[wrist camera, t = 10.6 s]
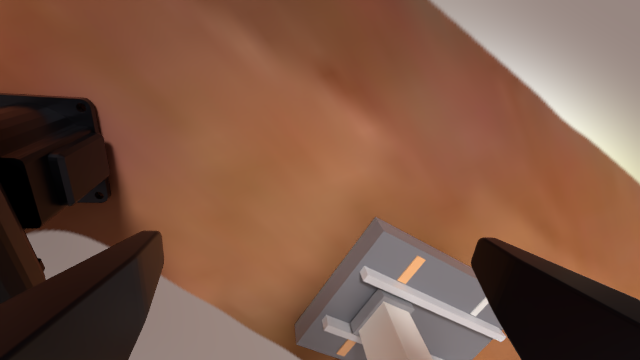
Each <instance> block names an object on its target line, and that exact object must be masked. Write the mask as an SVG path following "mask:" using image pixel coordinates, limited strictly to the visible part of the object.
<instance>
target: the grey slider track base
mask: <svg viewBox="0 0 640 360" xmlns="http://www.w3.org/2000/svg"><path fill="white" fill-rule="evenodd" d="M378 288H380V289H383V290H385V291H387V292H389V293H392V294H394V295H396V296H398V297H401V298H403V299H405V300H407V301H410V302H411V304H412V305H413V307H414V309H415V310H414V311H413V312H412V313H411V314H410V315H411V317H412V319H413V321H414V323H415V325H416V327H417V329H418V331H419V333H420V335H421V337H422V339H423V341H424V343H425V345H426V347H427V349H428V351H429V353H430V355H431V357H432V359H433V360H472V359H473V358H474V357H475V356H476V355H477V354H478V353H479V352H480V351H481V350H482V349H483V348H484V347H485V346H486V345H487V344H488V343H489V342H490V341H491V340H492V339H496V340H498V341H500V342H502V341H503V340H504V339H505V338H506V336H505V335H504V334H503V333H502V330H503V328H502V327H501V325H500V323H499V322H498V320H497V318H496V316H495V314H494V313H493V311H492V309H491V307H490V305H489V303H488V301H487V298H486V296H485V294H484V292H483V290H482V288H481V286H480V284H479V282H478V280H477V278H476V276H475V273H474V271H473V269H472V268H471V267H469V266H467V265H465V264H464V263H462V262H460V261H458V260H456V259H454V258H452V257H450V256H448V255H447V254H445V253H443V252H441V251H439V250H437V249H435V248H433V247H431V246H430V245H428V244H426V243H424V242H422V241H420V240H418V239H416V238H414V237H413V236H411V235H409V234H407V233H405V232H403V231H401V230H399V229H398V228H396V227H394V226H392V225H390V224H388V223H386V222H384V221H382V220H381V219H379V218H377V217H375V218H374V220H373V221H372V222H371V224H370V225H369V226H368V228H367V229H366V230H365V232H364V233H363V234H362V236H361V237H360V238H359V240H358V241H357V242H356V244H355V245H354V246H353V247H352V249H351V250H350V251H349V253H348V254H347V255H346V257H345V258H344V259H343V261H342V262H341V263H340V265H339V266H338V267H337V269H336V270H335V271H334V273H333V274H332V275H331V277H330V278H329V279H328V281H327V282H326V283H325V285H324V286H323V287H322V289H321V290H320V291H319V293H318V294H317V295H316V297H315V298H314V299H313V301H312V302H311V303H310V305H309V306H308V307H307V309H306V310H305V311H304V313H303V314H302V315H301V317H300V318H299V319H298V321H297V322H296V323H295V336H296V345H299V346H302V347H305V348H308V349H311V350H314V351H317V352H320V353H323V354H326V355H329V356H332V357H335V358H338V359H341V360H367V358H366V354H365V351H364V347H363V344H362V341H361V337H360V336H358V335H355V334H353V332H352V328H351V324H350V323H351V321H352V320H353V319H354V318H355V316H356V315H357V314H358V313H359V312H360V310H361V309H362V308H363V307H364V305H365V304H366V303H367V302H368V301H369V299H370V298H371V297H372V296H373V294H374V293H375V292H376V291H377V290H378Z"/></svg>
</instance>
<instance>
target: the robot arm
mask: <svg viewBox="0 0 640 360" xmlns="http://www.w3.org/2000/svg"><path fill="white" fill-rule="evenodd" d="M80 104H84V105H85V107H86V111H84V110H82V109H81V107H80ZM109 175H110V170H109V165H108V159H107V154H106V149H105V143H104V138H103V136H102V135H101V134H100V133H99V128H98V123H97V118H96V113H95V107H94V105H93V103H92V102H91V101H90V100H88V99H87V98H79V97H61V96H43V95H25V94H6V93H0V360H128V359H129V357H130V354H131V352H132V350H133V348H134V345H135V343H136V341H137V339H138V336H139V335H140V332H141V330H142V328H143V325H144V323H145V321H146V318H147V315H148V312H149V309H150V306H151V303H152V299H153V296H154V293H155V290H156V287H157V284H158V281H159V278H160V275H161V271H162V268H163V264H164V253H163V244H162V236H161V233H160V232H159V231H141V232H139V233H137V234H135V235H133V236H131V237H129V238H128V239H126V240H124V241H122V242H120V243H118V244H116V245H114V246H112V247H110V248H108V249H106V250H104V251H102V252H100V253H98V254H96V255H94V256H92V257H90V258H89V259H87V260H85V261H83V262H81V263H79V264H77V265H75V266H73V267H71V268H69V269H67V270H65V271H64V272H61V273H59V274H57V275H55V276H54V277H51V278H49V279H48V280H46V279H45V275H44V272H43V271H44V269H45V267H44V265H43V263H42V261H41V259H39V258H37V256H36V254H35V252H34V250H33V248H32V246H31V244H30V242H29V240H28V238H27V236H26V233H25V231H24V230H25V229H26V228H40V227H41V226H42V225H43V224H45V223H46V222H47V221H48V220H50V219H51V218H52V217H53V216H55V215H56V214H57V213H58V212H60V211H61V210H62V209H64V208H65V207H66V206H72V205H74V204H75V203H76V202H86V203H102V202H105V201H106V200H108V199H109V197H110V196H111V191H110V186H109V181H108V176H109ZM98 192H101V193H102V194H103V195H104V196H100V195H99V194H98ZM471 266H472V269H473V271H474V273H475V276H476V278H477V280H478V282H479V284H480V286H481V288H482V290H483V292H484V294H485V296H486V298H487V301H488V303H489V305H490V307H491V309H492V311H493V313H494V314H495V316H496V318H497V320H498V322H499V323H500V325H501V327H502V328H503V330H504V332H505V333H506V335H507V337H508V338H509V340H510V342H511V343H512V345H513V347H514V348H515V350H516V352H517V353H518V355H519V356H520V358H521V360H640V301H639V300H638V299H636V298H634V297H631V296H629V295H627V294H624V293H622V292H620V291H617V290H615V289H613V288H610V287H608V286H606V285H603V284H601V283H599V282H596V281H594V280H592V279H589V278H587V277H585V276H582V275H580V274H578V273H575V272H573V271H571V270H568V269H566V268H564V267H561V266H559V265H557V264H554V263H552V262H550V261H547V260H545V259H543V258H541V257H538V256H536V255H534V254H531V253H529V252H527V251H524V250H522V249H520V248H517V247H515V246H513V245H510V244H508V243H506V242H503V241H501V240H499V239H496V238H480V239H479V240H478V242H477V245H476V248H475V251H474V254H473V257H472V260H471Z"/></svg>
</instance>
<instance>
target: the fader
mask: <svg viewBox="0 0 640 360" xmlns="http://www.w3.org/2000/svg"><path fill="white" fill-rule="evenodd" d="M414 310H415V309H414V307H413V305H412V304H411V302H410V301H407V300H405V299H403V298H401V297H398V296H396V295H394V294H392V293H389V292H387V291H385V290H383V289H380V288H378V290H377V291H376V292H375V293H374V294H373V296H372V297H371V298H370V299H369V301H368V302H367V303H366V304H365V305H364V307H363V308H362V309H361V310H360V312H359V313H358V314H357V315H356V316H355V318H354V319H353V320H352V321H351V323H350V324H351V328H352V332H353V334H355V335H358V336H360V337H361V341H362V344H363V347H364V351H365V354H366V358H367V360H433V359H432V357H431V355H430V353H429V351H428V349H427V347H426V345H425V343H424V341H423V339H422V337H421V335H420V333H419V331H418V329H417V327H416V325H415V323H414V321H413V319H412V317H411V315H410V314H411V313H412V312H413V311H414Z"/></svg>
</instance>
